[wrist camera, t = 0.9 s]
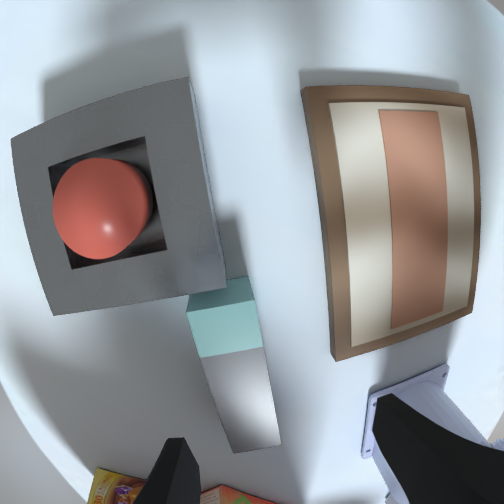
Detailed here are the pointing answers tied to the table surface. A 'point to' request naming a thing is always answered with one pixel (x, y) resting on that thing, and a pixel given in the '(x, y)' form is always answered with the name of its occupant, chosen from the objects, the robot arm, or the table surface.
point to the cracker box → (229, 497)
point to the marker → (235, 363)
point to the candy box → (114, 488)
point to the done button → (101, 206)
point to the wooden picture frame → (394, 210)
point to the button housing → (163, 190)
